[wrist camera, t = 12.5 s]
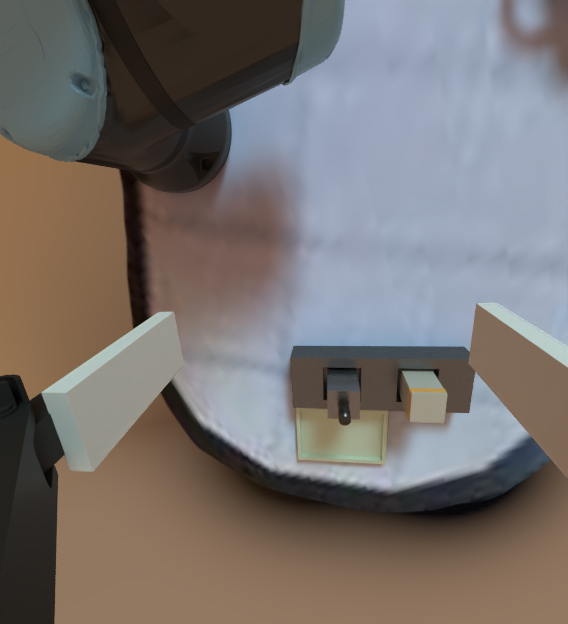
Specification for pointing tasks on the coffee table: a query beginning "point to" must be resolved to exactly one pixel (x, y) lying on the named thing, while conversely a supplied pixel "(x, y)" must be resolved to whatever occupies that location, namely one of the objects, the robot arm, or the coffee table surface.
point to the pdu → (374, 377)
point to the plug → (422, 395)
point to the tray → (342, 437)
